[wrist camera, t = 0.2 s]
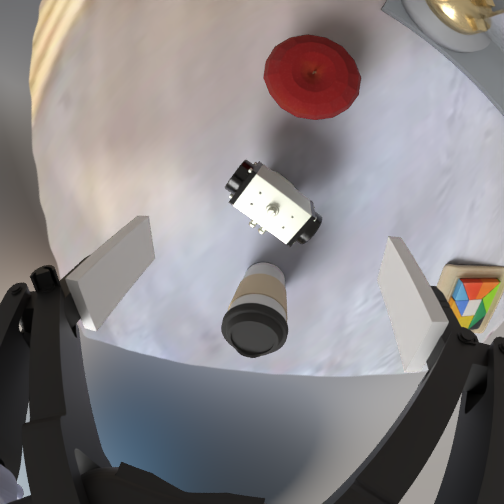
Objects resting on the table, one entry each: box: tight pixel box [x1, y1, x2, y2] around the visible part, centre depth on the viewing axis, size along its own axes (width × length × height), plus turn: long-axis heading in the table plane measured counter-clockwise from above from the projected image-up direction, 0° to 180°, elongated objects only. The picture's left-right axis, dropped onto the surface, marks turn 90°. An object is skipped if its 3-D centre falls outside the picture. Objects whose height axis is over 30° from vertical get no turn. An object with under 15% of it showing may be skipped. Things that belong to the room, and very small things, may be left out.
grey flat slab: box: [381, 0, 504, 116], centre depth 19 cm, size 31×26×4 cm
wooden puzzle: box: [437, 264, 504, 333], centre depth 44 cm, size 18×19×4 cm
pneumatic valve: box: [225, 160, 322, 247], centre depth 36 cm, size 6×12×12 cm, turn 54°
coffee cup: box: [221, 263, 288, 358], centre depth 42 cm, size 9×9×15 cm
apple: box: [264, 35, 361, 120], centre depth 28 cm, size 11×11×12 cm
